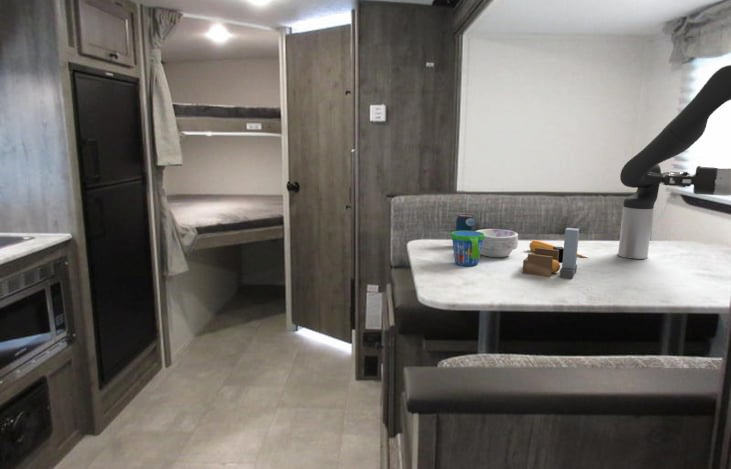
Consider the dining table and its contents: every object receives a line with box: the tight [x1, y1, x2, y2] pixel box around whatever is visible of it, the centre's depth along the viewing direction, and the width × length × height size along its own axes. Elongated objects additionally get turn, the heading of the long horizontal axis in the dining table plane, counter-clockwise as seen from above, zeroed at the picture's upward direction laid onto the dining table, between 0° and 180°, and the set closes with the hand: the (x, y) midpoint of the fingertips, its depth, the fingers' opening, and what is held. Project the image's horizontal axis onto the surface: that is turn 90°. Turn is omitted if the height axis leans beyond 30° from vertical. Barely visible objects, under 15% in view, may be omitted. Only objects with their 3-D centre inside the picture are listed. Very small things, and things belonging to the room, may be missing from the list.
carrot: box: [528, 239, 588, 259], centre depth 180 cm, size 20×4×4 cm, turn 57°
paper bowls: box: [476, 228, 519, 258], centre depth 178 cm, size 15×15×8 cm
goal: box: [522, 247, 559, 278], centre depth 157 cm, size 11×8×6 cm
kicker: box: [559, 227, 580, 280], centre depth 152 cm, size 9×3×14 cm, turn 150°
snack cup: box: [450, 230, 485, 267], centre depth 164 cm, size 16×10×10 cm
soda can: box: [455, 213, 476, 231], centre depth 189 cm, size 7×7×12 cm
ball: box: [552, 260, 561, 274], centre depth 155 cm, size 4×4×4 cm
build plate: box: [553, 246, 564, 264], centre depth 172 cm, size 12×7×5 cm, turn 6°
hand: (646, 177), depth 141 cm, fingers open, 8 cm apart
